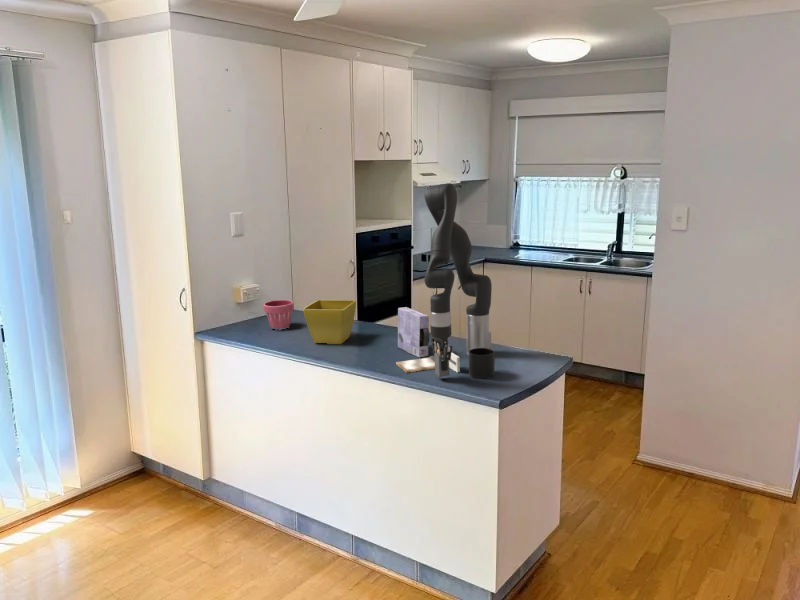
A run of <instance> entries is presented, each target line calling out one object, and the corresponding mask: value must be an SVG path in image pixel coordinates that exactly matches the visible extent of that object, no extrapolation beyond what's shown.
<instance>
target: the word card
mask: <svg viewBox="0 0 800 600" xmlns="http://www.w3.org/2000/svg"><path fill="white" fill-rule="evenodd" d="M460 358H461V357H460V356H459V355H457V354H455V353H454V352H452V353H451V360H449V369H451V370H452V371H453V372H455V371H456V372H455V373H457V374H458V372H460V373H461V370H460V369H461V366H460V364H461V361H460Z"/></svg>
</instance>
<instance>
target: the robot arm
mask: <svg viewBox="0 0 800 600" xmlns="http://www.w3.org/2000/svg"><path fill="white" fill-rule="evenodd" d="M457 192H458V191H457V188H456V186H455V185H454V184H452V183H450V182H449V183H448V182H447V183H442V184H437V185H433V186H429V187H426V188H425V190H424V201H425V204H426V206H427V209H428V211H429V212H430V214H431V216H432V218H433V220H434V222H435V223H436V225H437V228H436V229H435V230H434V232H433V234H432V237H431V241H430V257H429V263H428V266H427V268H426V271H425V274H424V284H425V286H426V287H427V288H429V289H444V290H443V292H440V293H435V294H433V295H432V296H430V302H429V303H430V316H429V322H430V323H429V324H430V325H429V329H430V337H431V339H430V341H431V342H430V343H431V348H432V353H433V355H434V353H437V349H438V350H439V355H441V369H442V371H447V370H448V360H451V353H453V346H452V345H449V340H448V339H449V338H450V337H452V314H451V294H452V291H453V290H452V289H453V287H454V283H455V277H456V276H455V273H454V271H453V269H452V268H437V267H438V266H441V265H445V264H448V263H449V262H450V260H451V261H452V263H453V265H454V269H455V270H456V274H457V276H458V280H459V284H460V288H461V290H462V292H463V294H465V295H466V296H468V297H474V298H475V302H474V303H473V304H469V305H468V306H466V310H465V311H466V313H465V314H466V317H465V318H466V322H465V323H466V355H467V356H468V357H469V351H470V350H471V349H475V348H488V349H492V332H491V331H490V310H491V305H492V286H493V285H492V280H491V277H490V276H488V275H486V274H479V273H474V272H473V270H472V268H471V265H470V260H471V255H472V253H473V247H472V246H473V245H472V242H471V239H470V237H469V235H468V233H467V231H466V230H465V229H464V228H463V227H462V226H461V225H460V224H458V223H457V222H456V221H454V220H455V216H456V215H455V214H456V211H457V207H458V206H457V205H458V193H457ZM442 351H444V352H442Z"/></svg>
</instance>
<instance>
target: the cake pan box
mask: <svg viewBox="0 0 800 600" xmlns="http://www.w3.org/2000/svg"><path fill="white" fill-rule="evenodd" d="M429 322H430V316H429V315H427V314H424V313H422V312H419V311H417V310H415V309H412V308H409V307H407V306H405V307H398V308H397V348H398V349H400V350H403V351H404V352H406V353H408V354H411V355H413V356H414V357H416V358H418V357H419V358H418V359H422V358H427V357H429V344H430V330H429V329H430V325H429V324H430V323H429ZM426 356H427V357H426ZM421 357H422V358H421Z"/></svg>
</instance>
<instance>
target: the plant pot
mask: <svg viewBox="0 0 800 600" xmlns="http://www.w3.org/2000/svg"><path fill="white" fill-rule="evenodd" d="M294 308H295V307H294V302H293V300H289V299H276V300H269V301H265V302H264V303H263V312H264V313H265V314H266V317H267V320H268V323H269V326H270V328H271V327H272V328H277V329H280V328H287V327H289V326H290V325H291V320H292V314H293V313H292V312H293V311H294ZM289 328H290V327H289Z"/></svg>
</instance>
